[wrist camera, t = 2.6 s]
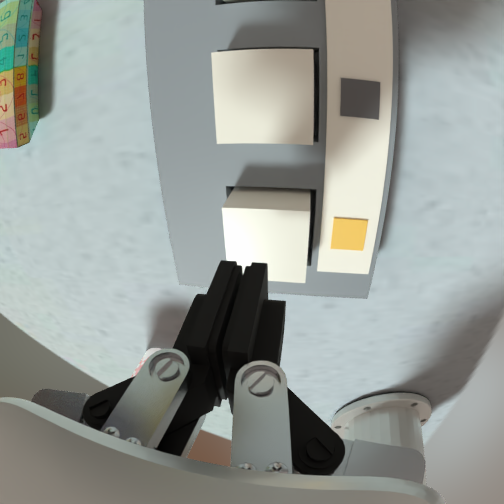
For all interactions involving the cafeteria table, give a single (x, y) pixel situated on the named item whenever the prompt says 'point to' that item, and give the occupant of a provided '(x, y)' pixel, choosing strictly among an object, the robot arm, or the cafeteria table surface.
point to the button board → (278, 155)
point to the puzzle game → (19, 71)
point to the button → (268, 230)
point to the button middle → (264, 96)
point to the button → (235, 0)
